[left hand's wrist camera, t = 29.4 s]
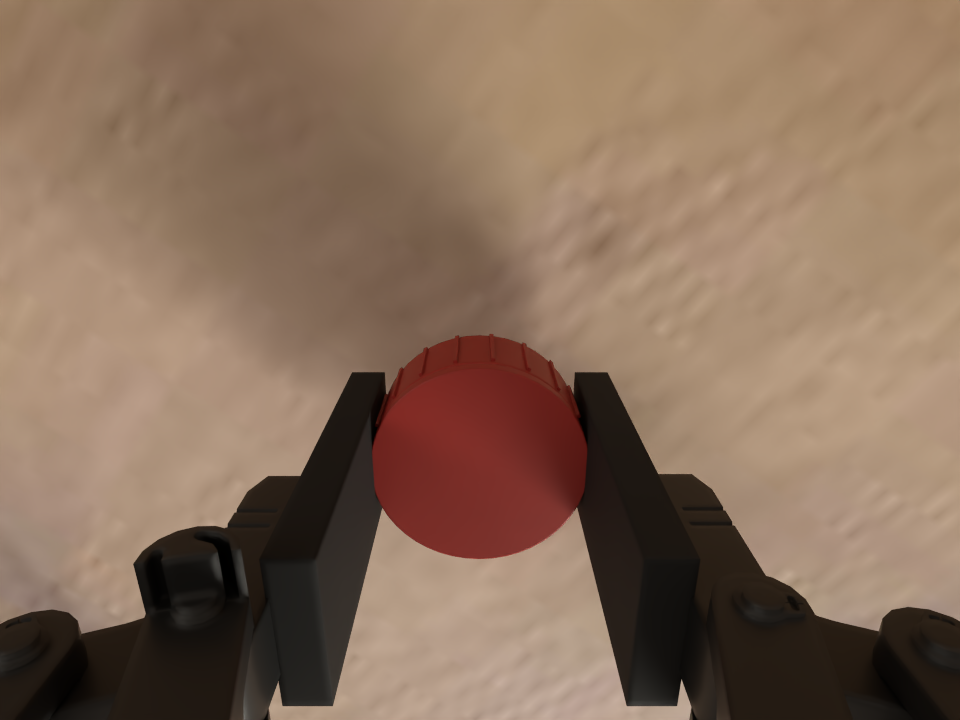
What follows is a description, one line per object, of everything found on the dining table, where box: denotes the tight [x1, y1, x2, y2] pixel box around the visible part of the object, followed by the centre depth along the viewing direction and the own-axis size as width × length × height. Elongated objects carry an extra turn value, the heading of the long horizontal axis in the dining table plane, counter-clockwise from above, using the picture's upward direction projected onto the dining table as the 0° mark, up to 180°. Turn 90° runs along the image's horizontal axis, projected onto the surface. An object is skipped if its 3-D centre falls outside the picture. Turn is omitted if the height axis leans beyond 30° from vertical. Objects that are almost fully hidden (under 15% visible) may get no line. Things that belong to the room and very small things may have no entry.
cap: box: [372, 334, 587, 559], centre depth 14 cm, size 5×5×2 cm
